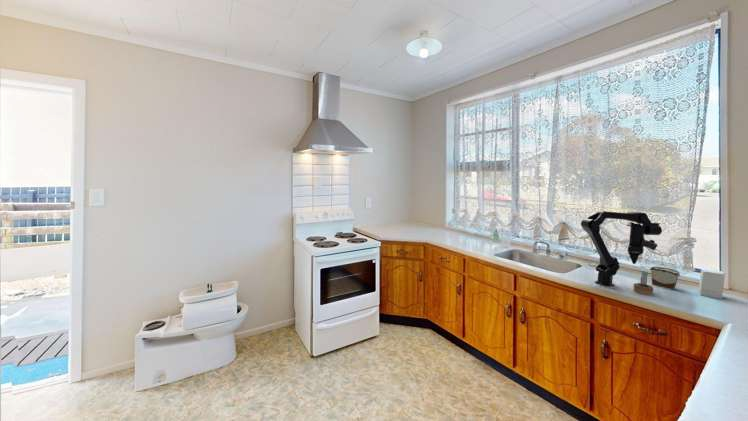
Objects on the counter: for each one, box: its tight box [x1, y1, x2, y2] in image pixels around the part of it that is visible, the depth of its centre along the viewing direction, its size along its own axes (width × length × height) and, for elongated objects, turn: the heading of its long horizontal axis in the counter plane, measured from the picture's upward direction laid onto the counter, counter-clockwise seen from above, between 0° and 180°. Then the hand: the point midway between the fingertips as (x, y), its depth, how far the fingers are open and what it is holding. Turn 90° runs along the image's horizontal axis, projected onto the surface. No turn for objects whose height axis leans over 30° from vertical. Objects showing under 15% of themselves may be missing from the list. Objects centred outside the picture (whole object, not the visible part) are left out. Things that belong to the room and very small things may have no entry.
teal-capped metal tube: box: [639, 270, 649, 287], centre depth 151 cm, size 2×2×11 cm
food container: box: [649, 266, 681, 291], centre depth 160 cm, size 12×6×10 cm, turn 22°
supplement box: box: [698, 268, 726, 300], centre depth 148 cm, size 7×7×13 cm
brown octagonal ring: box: [633, 282, 654, 295], centre depth 152 cm, size 7×7×4 cm
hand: (634, 262), depth 162 cm, fingers open, 9 cm apart
